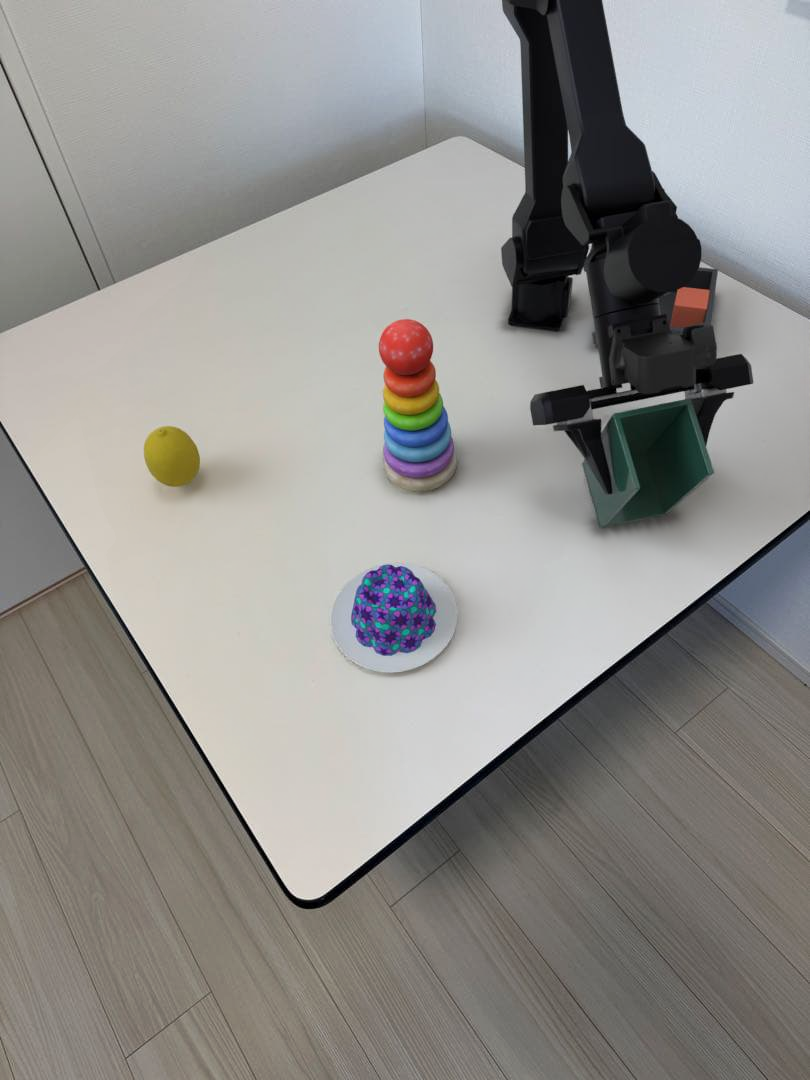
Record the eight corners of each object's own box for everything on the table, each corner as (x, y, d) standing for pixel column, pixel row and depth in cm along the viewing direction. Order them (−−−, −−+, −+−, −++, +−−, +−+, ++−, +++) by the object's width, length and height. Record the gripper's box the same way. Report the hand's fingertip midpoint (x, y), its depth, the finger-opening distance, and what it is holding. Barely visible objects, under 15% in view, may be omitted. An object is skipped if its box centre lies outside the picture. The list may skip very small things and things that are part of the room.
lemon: (167, 508, 88) (142, 458, 81) (152, 475, 91) (127, 424, 84) (215, 488, 89) (194, 437, 83) (199, 456, 92) (177, 404, 86)
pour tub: (581, 463, 83) (612, 413, 70) (647, 450, 83) (690, 397, 71) (599, 528, 81) (635, 489, 69) (667, 514, 82) (714, 472, 69)
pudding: (315, 664, 75) (305, 635, 71) (350, 559, 82) (342, 527, 78) (444, 686, 73) (441, 658, 68) (468, 576, 79) (467, 544, 75)
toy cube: (669, 329, 97) (674, 305, 94) (672, 311, 99) (678, 286, 96) (700, 333, 96) (706, 308, 94) (703, 314, 98) (709, 289, 96)
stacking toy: (466, 447, 89) (462, 306, 74) (445, 502, 85) (435, 364, 70) (399, 434, 92) (381, 294, 77) (374, 487, 87) (350, 349, 72)
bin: (595, 347, 97) (598, 320, 94) (611, 285, 104) (615, 258, 101) (701, 361, 94) (708, 334, 91) (710, 296, 101) (718, 269, 98)
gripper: (545, 319, 64) (578, 513, 66) (774, 275, 65) (798, 468, 67) (516, 336, 75) (544, 502, 77) (711, 298, 76) (734, 464, 78)
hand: (652, 485), depth 74 cm, fingers open, 8 cm apart
